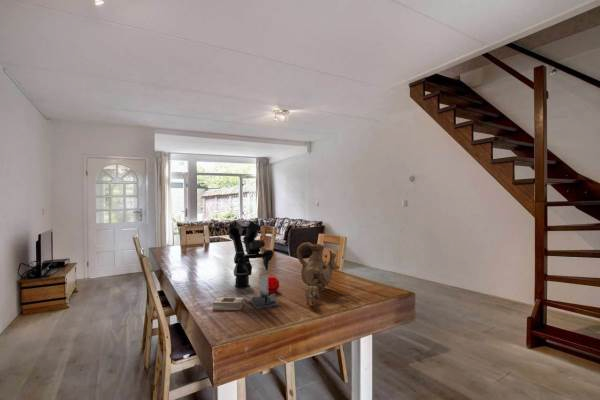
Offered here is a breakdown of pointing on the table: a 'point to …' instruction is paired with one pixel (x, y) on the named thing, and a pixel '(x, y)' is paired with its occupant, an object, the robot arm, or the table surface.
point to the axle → (263, 286)
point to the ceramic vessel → (316, 266)
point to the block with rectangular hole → (228, 303)
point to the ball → (272, 284)
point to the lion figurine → (311, 294)
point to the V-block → (263, 301)
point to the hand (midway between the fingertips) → (258, 271)
